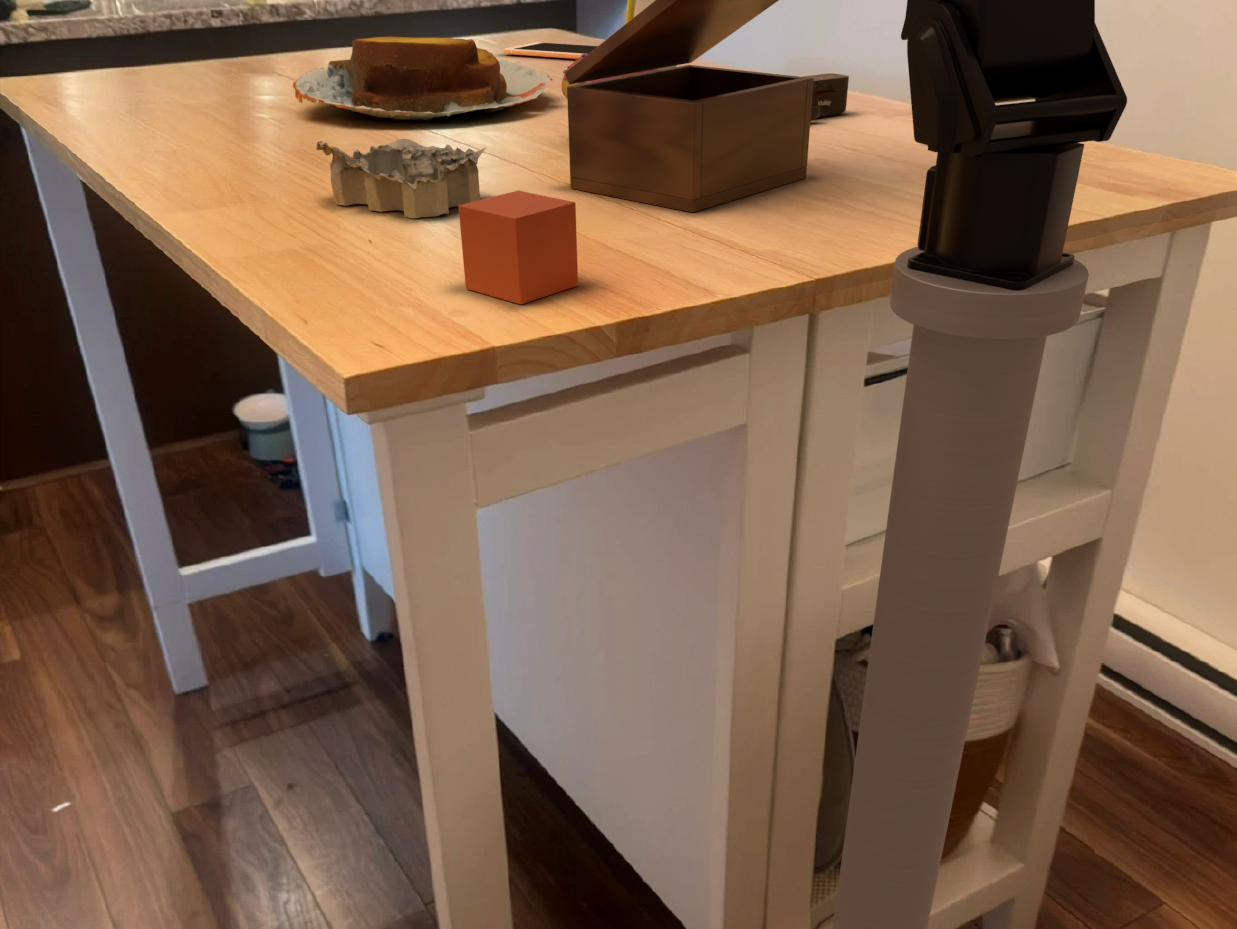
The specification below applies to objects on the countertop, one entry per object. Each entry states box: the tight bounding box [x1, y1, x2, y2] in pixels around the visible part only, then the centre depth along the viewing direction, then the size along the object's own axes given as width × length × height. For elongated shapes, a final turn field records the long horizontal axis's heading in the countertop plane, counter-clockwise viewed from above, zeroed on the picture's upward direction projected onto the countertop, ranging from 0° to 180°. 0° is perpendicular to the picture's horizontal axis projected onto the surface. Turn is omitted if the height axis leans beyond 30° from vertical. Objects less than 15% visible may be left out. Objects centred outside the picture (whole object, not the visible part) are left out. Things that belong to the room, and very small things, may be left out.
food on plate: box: [292, 36, 555, 122], centre depth 113 cm, size 25×25×7 cm
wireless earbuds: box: [802, 72, 850, 121], centre depth 106 cm, size 5×7×3 cm, turn 123°
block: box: [458, 190, 579, 305], centre depth 63 cm, size 4×4×4 cm
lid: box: [564, 0, 780, 84], centre depth 79 cm, size 12×14×1 cm
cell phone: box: [503, 41, 599, 60], centre depth 145 cm, size 8×16×1 cm, turn 59°
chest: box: [566, 64, 814, 213], centre depth 83 cm, size 12×14×7 cm
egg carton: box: [316, 138, 487, 219], centre depth 80 cm, size 11×8×4 cm
